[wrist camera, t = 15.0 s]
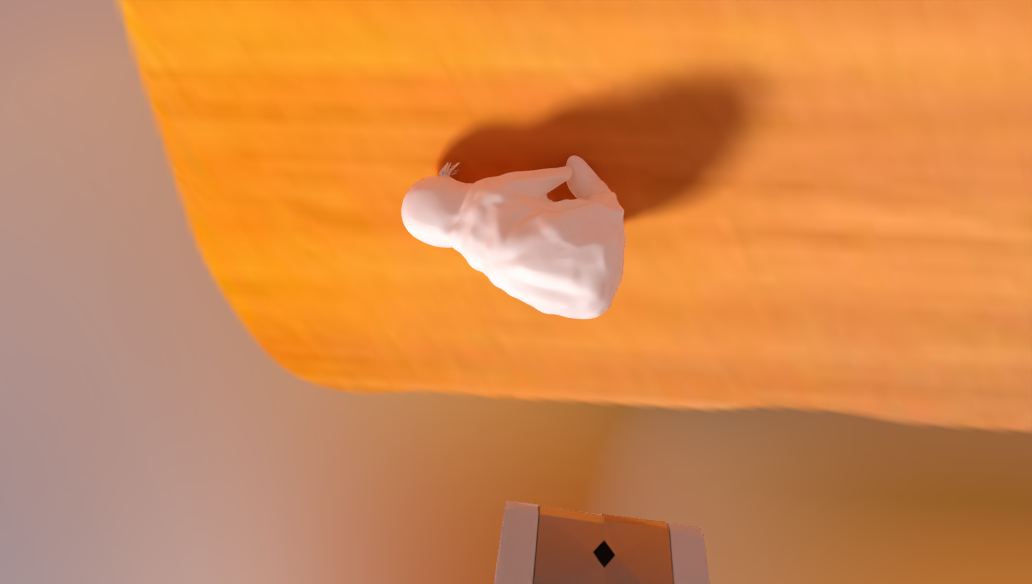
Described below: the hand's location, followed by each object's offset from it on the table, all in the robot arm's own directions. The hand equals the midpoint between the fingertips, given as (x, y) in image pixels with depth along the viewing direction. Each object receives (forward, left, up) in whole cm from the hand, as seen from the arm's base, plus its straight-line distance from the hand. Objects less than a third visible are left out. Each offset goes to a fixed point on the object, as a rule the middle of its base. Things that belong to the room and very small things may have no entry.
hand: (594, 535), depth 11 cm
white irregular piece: (+3, +11, -29) cm, 32 cm away
